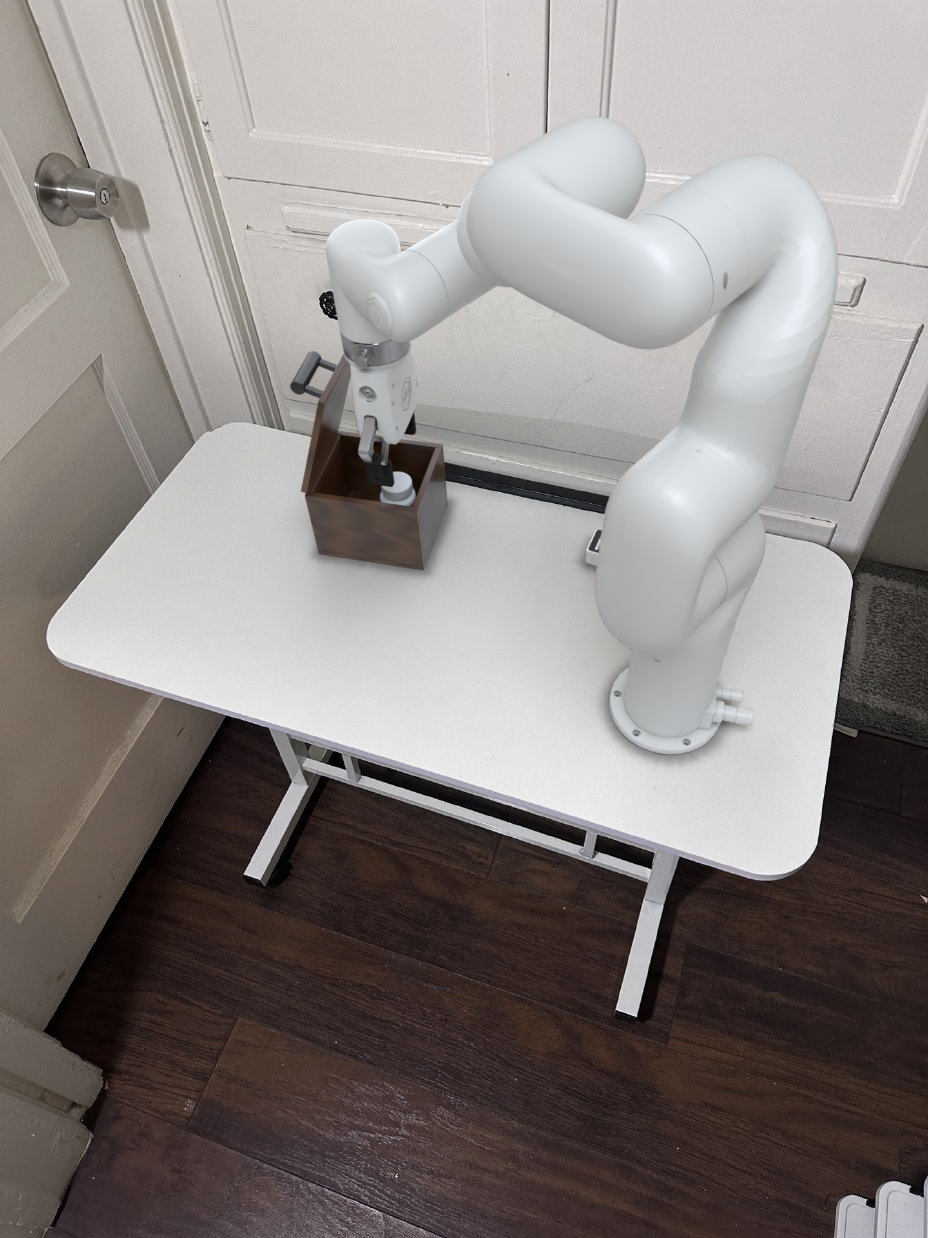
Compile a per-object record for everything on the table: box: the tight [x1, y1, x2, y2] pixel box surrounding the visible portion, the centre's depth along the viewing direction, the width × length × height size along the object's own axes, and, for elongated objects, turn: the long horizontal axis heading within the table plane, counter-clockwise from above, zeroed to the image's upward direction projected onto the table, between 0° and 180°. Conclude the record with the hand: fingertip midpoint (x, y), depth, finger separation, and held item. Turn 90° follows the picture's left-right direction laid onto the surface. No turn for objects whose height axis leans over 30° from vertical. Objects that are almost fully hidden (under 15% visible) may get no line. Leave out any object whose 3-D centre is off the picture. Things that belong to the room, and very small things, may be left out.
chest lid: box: [289, 350, 351, 494], centre depth 111 cm, size 15×13×5 cm
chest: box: [304, 430, 449, 571], centre depth 121 cm, size 15×13×11 cm
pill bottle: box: [380, 472, 416, 507], centre depth 121 cm, size 5×5×8 cm
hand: (393, 457), depth 114 cm, fingers open, 9 cm apart
